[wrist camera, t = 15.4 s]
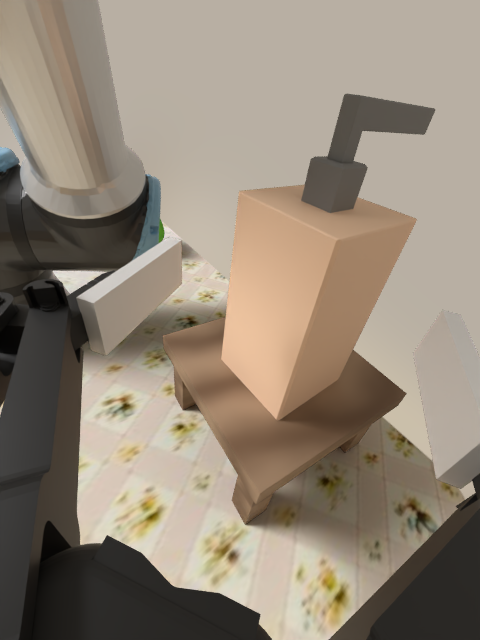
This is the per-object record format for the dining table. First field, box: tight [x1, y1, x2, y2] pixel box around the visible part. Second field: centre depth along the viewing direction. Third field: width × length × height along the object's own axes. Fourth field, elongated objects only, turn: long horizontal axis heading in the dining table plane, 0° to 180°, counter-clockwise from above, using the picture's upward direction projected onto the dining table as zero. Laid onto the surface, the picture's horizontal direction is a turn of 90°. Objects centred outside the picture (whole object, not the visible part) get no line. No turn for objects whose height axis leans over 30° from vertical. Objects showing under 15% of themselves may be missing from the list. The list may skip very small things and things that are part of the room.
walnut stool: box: [163, 317, 406, 525], centre depth 33 cm, size 18×18×10 cm
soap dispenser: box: [221, 94, 435, 420], centre depth 24 cm, size 13×9×22 cm
